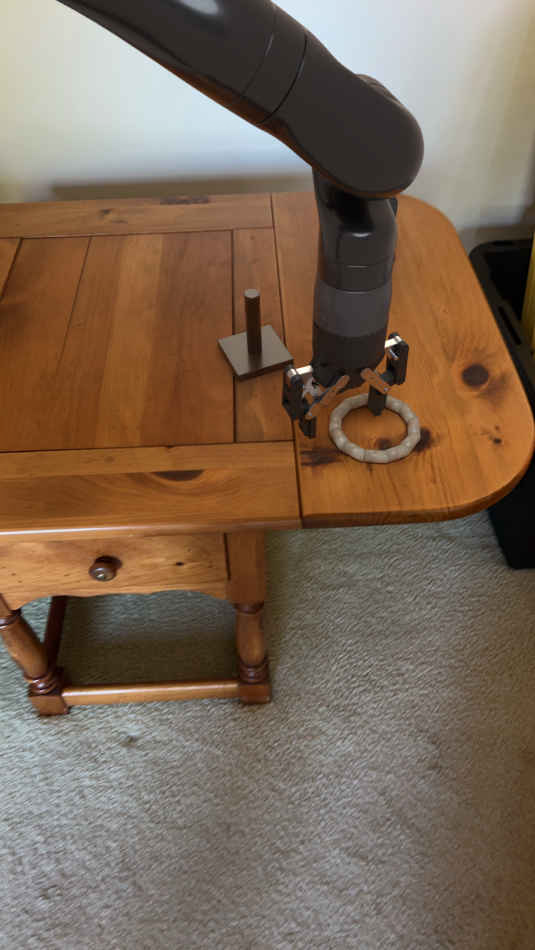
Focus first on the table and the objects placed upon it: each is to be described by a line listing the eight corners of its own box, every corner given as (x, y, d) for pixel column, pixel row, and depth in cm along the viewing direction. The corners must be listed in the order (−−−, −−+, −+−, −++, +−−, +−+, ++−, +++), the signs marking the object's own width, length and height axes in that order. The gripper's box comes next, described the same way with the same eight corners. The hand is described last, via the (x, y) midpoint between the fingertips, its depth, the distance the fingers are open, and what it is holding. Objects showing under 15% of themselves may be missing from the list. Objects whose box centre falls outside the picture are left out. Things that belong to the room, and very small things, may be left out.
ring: (355, 477, 77) (356, 468, 75) (314, 415, 83) (314, 406, 82) (436, 447, 79) (438, 439, 78) (390, 389, 85) (392, 381, 84)
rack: (238, 382, 87) (233, 319, 79) (217, 346, 92) (211, 284, 84) (293, 365, 89) (294, 302, 81) (270, 331, 94) (268, 268, 86)
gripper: (395, 271, 69) (379, 385, 81) (269, 307, 65) (273, 420, 78) (434, 311, 64) (410, 425, 77) (301, 352, 61) (300, 464, 74)
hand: (341, 422), depth 77 cm, fingers open, 8 cm apart
